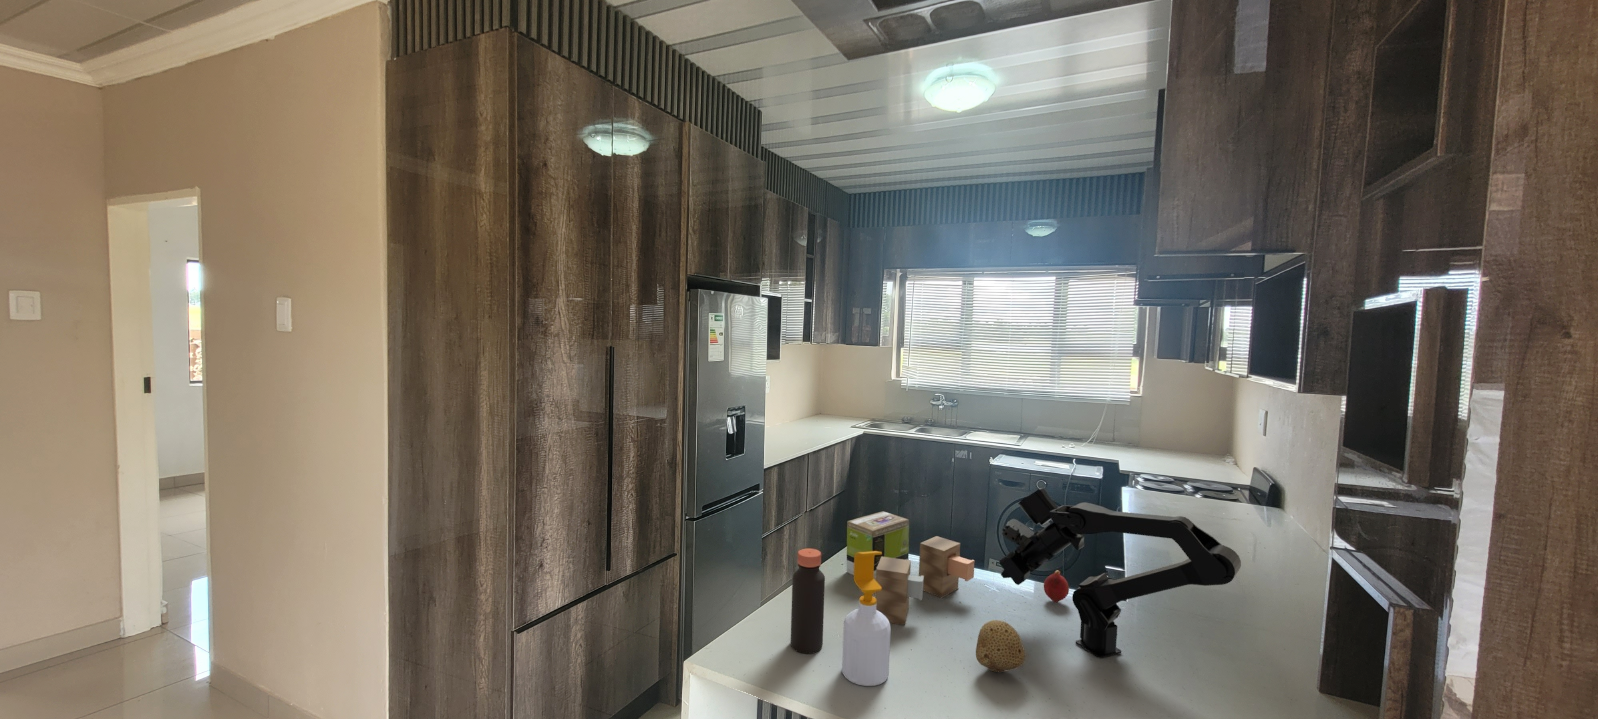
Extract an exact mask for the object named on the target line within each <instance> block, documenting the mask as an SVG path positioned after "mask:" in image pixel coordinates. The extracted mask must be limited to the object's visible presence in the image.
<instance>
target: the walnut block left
mask: <svg viewBox="0 0 1598 719" xmlns="http://www.w3.org/2000/svg"><path fill="white" fill-rule="evenodd" d="M911 563H912V560H911V559H910V560H904V559H896V558H889V557H881V559H880V561H879V564H878V566H877V569H876V582H877V583H878V584H879V585H880V586H881V587H882V590H881V591H875V593H874V594H875V596H874V597H875V598H876V600H877V601H876V610H878V611H879V612H881V613H882V614H883V615H884V616H885V617H886V618H887V619H888V620H889V623H890V624H896V625H902V626H906V624H907V623H906V622H907V617H908V614H909V609H910V597H907V585H908V576H909V575H911Z"/></svg>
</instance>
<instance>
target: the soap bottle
mask: <svg viewBox="0 0 1598 719" xmlns="http://www.w3.org/2000/svg"><path fill="white" fill-rule="evenodd" d="M880 554H882V552H878V551H870V552H857V553H855V556H854V575H853V581H854V583H855V585H856V586H857V587H858V588H859V590H860V591H861V593H862V594H863V595H862V596H860V597H859V601H858V608H856V609H854V610H852V611H851V612H849V613H848V614H847V615H846V616H845V618H844V620H843V633H842V635H843V637H842V639H843V640H842V662H841V666H842V667H841V673H842V675H843V676H844V677H845V679H847V680H848V681H849V682H850V683H853V684H856V685H858V686H864V687H874V686H879V685H881V684H883V683H885V682H886V681H887V679H888V678H889V674H890V654H891V653H890V652H891V631H892V630H891V623H889V620H888V619H887V618H886V617H885V616H884V615H883V614H882V613H881V612H879V611H878V610H876V601H877V600H876V598H875V596H873V594H875V591H881V590H882V587H881V586H880V585H879V584H878V583H877V582H876V581H875V579H874V556H875V555H880Z"/></svg>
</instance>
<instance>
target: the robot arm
mask: <svg viewBox="0 0 1598 719" xmlns="http://www.w3.org/2000/svg"><path fill="white" fill-rule="evenodd" d="M1018 506H1019V507H1020V508H1021V510H1022V511H1023V512H1024V513H1025V515H1026V516H1027V517H1028V518H1029V520H1030V521H1031V522H1032V523H1033V525H1036V526H1038V525H1040V526H1041V527H1042V526H1044V525H1046V524H1047V523H1049V522H1050V521H1051V520H1052V522H1051V523H1049V524H1048V525H1047V526H1045V527H1044V528H1043V529H1041V530H1037V531H1036V532H1034V531H1033V530H1032V529H1031V528H1029V527H1028V526H1027V525H1026V524H1024V523H1022V522H1021V521H1020V520H1018V519H1015V518H1011V519H1010V520H1009V521H1007V523H1006V524H1005V526H1004V527H1003V528H1002V529H1001V530H1002V532H1001V535H1002V536H1003V537H1004V538H1006V539H1007V540H1008V541H1010V542H1012V543H1014V544H1016V545H1017V546H1016V548H1014V551H1013V550H1012V551H1010V552H1009V553H1008V554H1007V555H1005V556H1003V558H1001V559H999V561H998V563H999V565H1000V566H1001V567H1002V569H1003V570H1002V572H1001V573H1000V576H1001V577H1002V578H1003V579H1011V580H1012V581H1013V582H1014V583H1015V585H1017V586H1019V585H1021V584H1022V583H1024V582H1025V581H1026V580H1027V579H1028V578H1030V576H1031V574H1032V573H1033V572H1034V571H1035V570H1038V569H1039V568H1040V567H1041V566H1042V565H1043V564H1045V563H1046V562H1048V561H1050V560H1051V559H1053V558H1054V557H1055V556H1056V555H1058V554H1059V553H1061V552H1062V551H1063V550H1065V549H1066V548H1067V547H1068V546H1070V545H1072V547H1073V548H1074V550H1076V551H1079V550H1081V549H1082V548H1083V547H1085V536H1084V535H1093V534H1103V533H1119V534H1127V535H1128V534H1129V535H1138V536H1146V537H1152V538H1153V537H1155V538H1163V539H1172V540H1173V541H1174V542H1175V543H1176V544H1177V545H1178V546H1179V547H1180V549H1181V550H1182V551H1183V553H1184V554H1185V556H1186V557H1187V559H1185V560H1183V561H1181V562H1177V563H1173V564H1169V565H1166V566H1161V567H1158V568H1154V569H1151V570H1148V571H1147V570H1146V571H1144V572H1140V573H1137V574H1134V575H1130V576H1126V577H1123V578H1119V579H1118V578H1117V579H1114V578H1113V579H1111V578H1108V575H1107V573H1106V572H1103V573H1101V574H1100V575H1097V576H1089V577H1087V578H1086V579H1085V580H1082V582H1080V583H1079V584H1078V587H1077V588H1076V589H1075V590H1074V591H1073V593H1072V603H1073V606H1074V607H1075V608H1076V610H1077V611H1078V612H1077V613H1078V616H1079V619H1080V630H1079V632H1080V634H1079V639H1077V640H1075V644H1076V645H1078V646H1079V647H1081V648H1082V649H1084V650H1086V651H1087V652H1089V653H1090V654H1092V655H1093V656H1095V657H1097V658H1099V659H1103V658H1105V657H1110V656H1114V655H1119V654H1122V650H1121V649H1120V648H1118V647H1117V641H1118V640H1117V639H1118V625H1117V624H1116V622H1115V620H1116V619H1118V618H1119V616H1120V614H1121V613H1122V608H1121V607H1120V606H1119V605H1118V603H1121V602H1123V601H1127V600H1130V599H1131V600H1132V599H1135V598H1139V597H1143V596H1148V595H1151V594H1156V593H1159V592H1163V591H1167V590H1172V589H1176V588H1179V587H1180V588H1181V587H1184V586H1190V585H1191V586H1203V587H1204V586H1205V587H1206V586H1210V587H1211V586H1222V585H1227V584H1230V583H1231V582H1232V581H1234V579H1235V577H1236V575H1237V574H1238V573H1239V571H1240V569H1241V567H1242V560H1241V558H1240V556H1239V555H1238V554H1237V552H1236V551H1235V550H1234V549H1232V548H1230V547H1228V546H1226V545H1225V544H1224V545H1223V544H1222V543H1221V542H1219V540H1217V539H1216V538H1215V537H1214V536H1212V535H1210V534H1209V533H1207V532H1206V531H1204V530H1203V529H1201V528H1200V527H1198V526H1197V525H1196V524H1195V523H1194V522H1193V521H1191V520H1190V519H1189V518H1188V517H1186V516H1183V515H1182V516H1181V515H1178V516H1169V515H1158V514H1146V513H1137V512H1136V513H1135V512H1126V511H1125V512H1124V511H1116V510H1111V509H1109V508H1106V507H1105V506H1102V505H1097V504H1094V503H1090V502H1086V501H1085V502H1080V503H1077V504H1076V505H1065V504H1064V505H1061V506H1058V505H1057V504H1056V503H1055V502H1054V500H1053V499H1052V498H1051V497H1050V495H1049V494H1048V492H1047V491H1046V489H1045V488H1044V487H1040V488H1038V489H1037V490H1035V491H1034V492H1032V493H1030V494H1029V495H1027V496H1025V497H1023V498H1022V499H1021V500H1020V501H1019V502H1018Z"/></svg>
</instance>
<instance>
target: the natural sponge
mask: <svg viewBox="0 0 1598 719" xmlns="http://www.w3.org/2000/svg"><path fill="white" fill-rule="evenodd" d="M978 633H979V634H978V636H977V642H976V647H975V658H976V660H977V662H978V663H979V664H980V665H981V666H982V667H985V668H986V669H989V670H990V671H991V672H995V673H1004V672H1006V671H1012V670H1015V669H1018V668H1020V667H1022V665H1023V664H1024V661H1026V651H1025V648H1024V646H1023V643H1022V640H1021V637H1020V635H1019V633H1018V631H1017V630H1016V628H1014V627H1013V626H1011V624H1010V623H1008V622H1006V621H1002V620H997V619H995V620H990V621H987V622H985V623H984V624H983V625H982V626H981V628H980V630H979V632H978Z"/></svg>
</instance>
